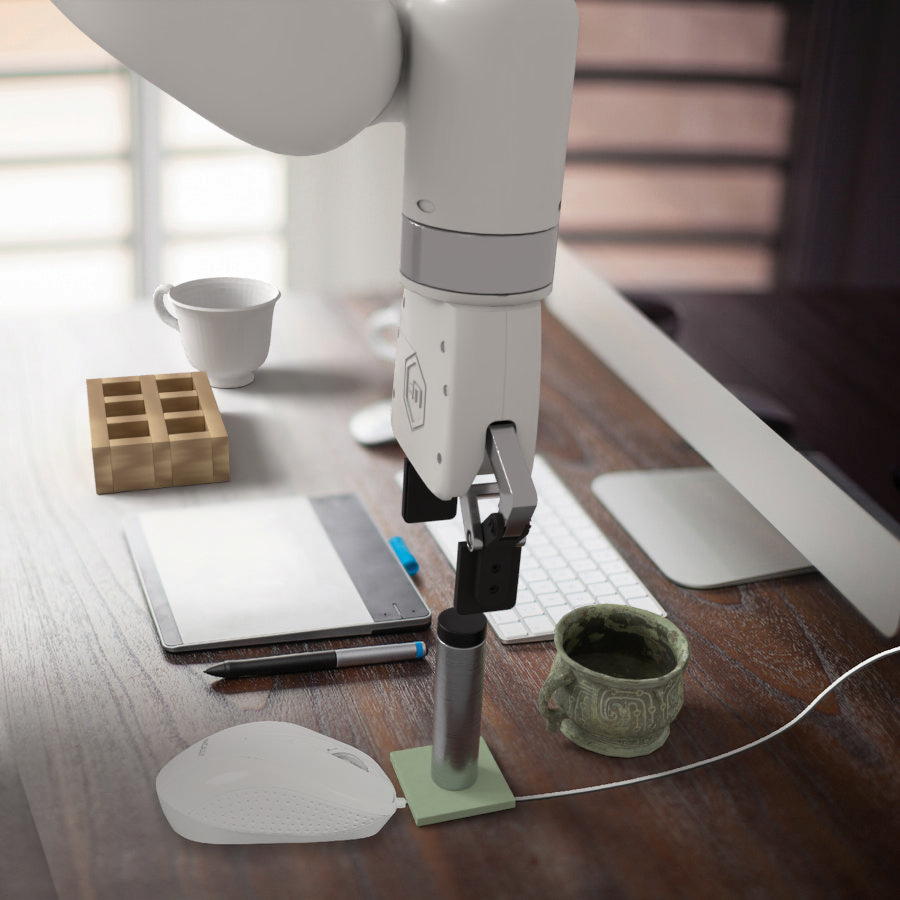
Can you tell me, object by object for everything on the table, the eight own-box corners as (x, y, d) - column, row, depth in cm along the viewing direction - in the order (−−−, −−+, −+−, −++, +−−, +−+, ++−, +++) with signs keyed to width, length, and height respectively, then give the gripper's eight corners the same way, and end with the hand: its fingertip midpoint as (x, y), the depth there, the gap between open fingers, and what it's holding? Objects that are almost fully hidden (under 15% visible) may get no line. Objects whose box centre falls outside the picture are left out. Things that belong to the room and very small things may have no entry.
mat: (417, 827, 65) (417, 819, 65) (389, 759, 70) (389, 751, 70) (515, 807, 67) (516, 799, 66) (481, 743, 72) (482, 735, 72)
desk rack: (96, 494, 100) (91, 447, 98) (90, 420, 115) (86, 378, 113) (230, 481, 104) (228, 436, 102) (207, 411, 118) (205, 370, 116)
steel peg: (438, 794, 67) (446, 636, 62) (424, 763, 69) (431, 609, 64) (483, 786, 67) (494, 629, 63) (468, 756, 70) (477, 603, 65)
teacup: (188, 350, 135) (183, 268, 130) (301, 370, 130) (300, 285, 126) (128, 383, 124) (120, 295, 120) (248, 406, 120) (245, 315, 116)
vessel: (642, 661, 81) (652, 585, 78) (727, 733, 74) (741, 652, 71) (498, 707, 75) (504, 627, 73) (575, 790, 68) (584, 704, 66)
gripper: (359, 212, 61) (350, 496, 68) (459, 313, 46) (435, 662, 54) (490, 211, 63) (469, 485, 71) (626, 306, 49) (581, 642, 56)
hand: (454, 561), depth 62 cm, fingers open, 9 cm apart
